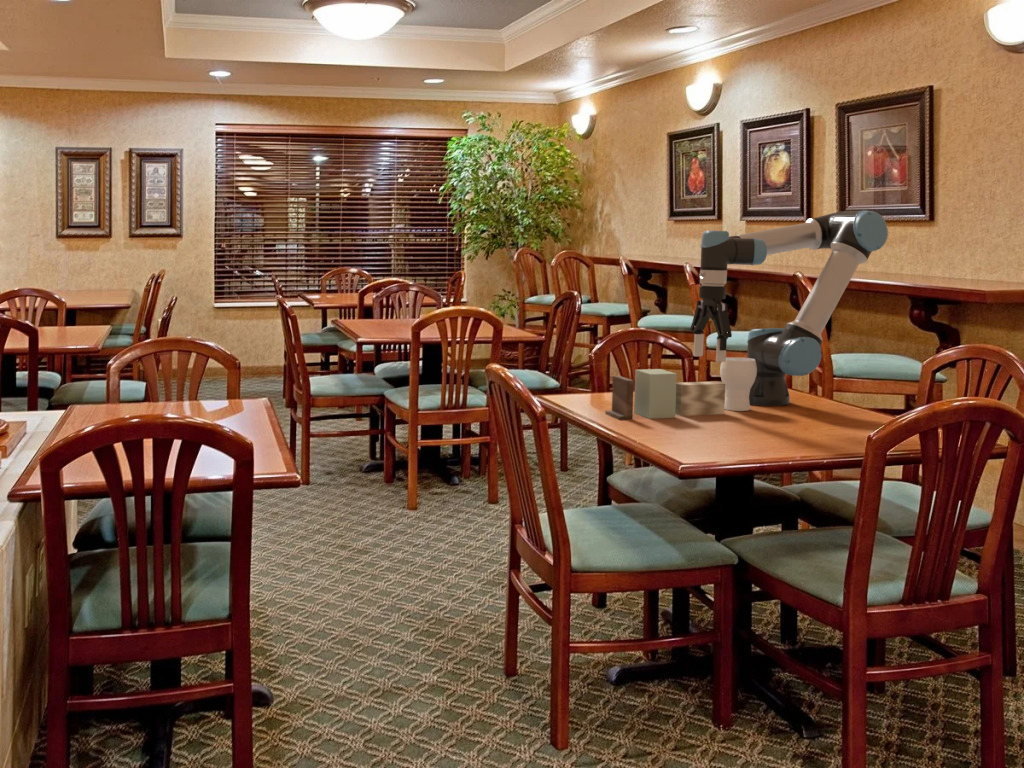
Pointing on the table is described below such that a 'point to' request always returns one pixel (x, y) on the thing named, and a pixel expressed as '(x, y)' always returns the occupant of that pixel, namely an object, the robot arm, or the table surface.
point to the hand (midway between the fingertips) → (709, 359)
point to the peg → (700, 398)
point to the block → (655, 393)
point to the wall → (622, 398)
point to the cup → (738, 382)
